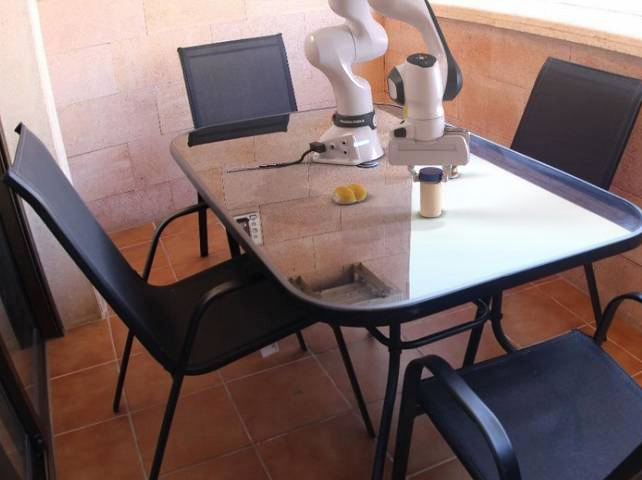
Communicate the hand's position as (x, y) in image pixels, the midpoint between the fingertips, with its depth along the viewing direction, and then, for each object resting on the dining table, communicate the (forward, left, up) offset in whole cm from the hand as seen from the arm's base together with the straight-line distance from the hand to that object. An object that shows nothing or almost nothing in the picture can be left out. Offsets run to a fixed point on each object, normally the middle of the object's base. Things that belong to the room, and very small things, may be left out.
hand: (430, 181), depth 166 cm
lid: (0, +1, +2) cm, 2 cm away
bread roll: (-25, +9, -9) cm, 28 cm away
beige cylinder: (-1, 0, -9) cm, 9 cm away
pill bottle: (0, +27, -9) cm, 28 cm away
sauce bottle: (-20, +68, -9) cm, 71 cm away
